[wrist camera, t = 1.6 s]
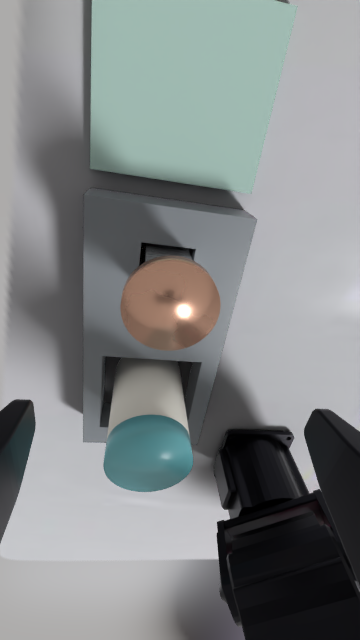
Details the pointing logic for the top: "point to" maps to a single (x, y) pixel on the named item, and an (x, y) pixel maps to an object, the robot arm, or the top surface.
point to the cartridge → (147, 426)
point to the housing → (123, 258)
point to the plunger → (169, 300)
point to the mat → (185, 87)
